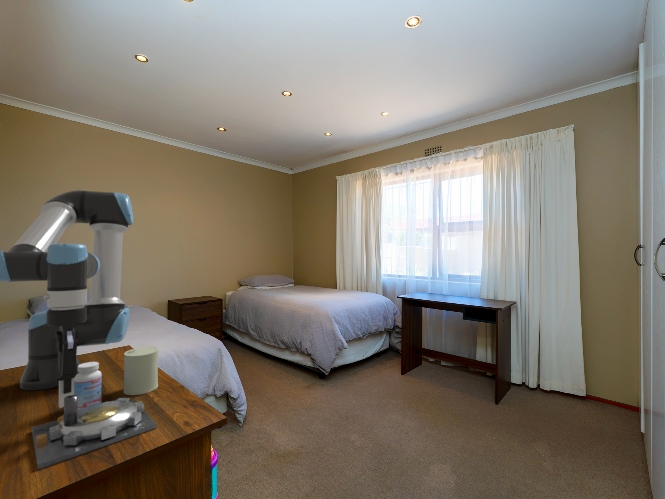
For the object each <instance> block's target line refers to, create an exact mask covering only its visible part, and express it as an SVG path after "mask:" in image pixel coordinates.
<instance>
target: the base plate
mask: <svg viewBox="0 0 665 499" xmlns="http://www.w3.org/2000/svg"><path fill="white" fill-rule="evenodd" d="M129 401H130V402H133V403H135V402H138V400H136V398H131V399H130V398H129ZM149 414H150V413H148V412H147V411H146V410H145V409H144V411H143V412H141V420H140V421H139V422H138V423H137V424H136V425H128V426H126V427H124V428H123V429H121V430H119V431H116V435H115V436H113V437H110V438H107V439H104V440H101V438H100V437H99V438H95V439H90V440H83V441H81V442H79V443H78V444H77V445H64V439H62V438H61V437H60V438H57V439H54V440H50V427H53V426H56V425H58V419H56V420H54V421H50V422H46V423H43V424H38V425H35V426H32V427H31V435H32V440H33V441H32V442H33V448H34V455H35V459H36V460H35V461H36V467H37V471H39V470H42V469H45V468H47V467H50V466H54V465H55V464H59V463H62V462H64V461H68V460H70V459H73V458H77V457H79V456H81V455H84V454H87V453H90V452H92V451H93V452H94V451H96V450H98V449H100V448H104V447H107V446H109V445H112V444H114V443H119V442H121V441H124V440H126V439H130V438H132V437H135V436H138V435H141V434H143V433H146V432H149V431H152V430H155V429H157V428H158V424H157V422H156V421H155V420H154V418H152V417H151V415H149Z"/></svg>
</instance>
